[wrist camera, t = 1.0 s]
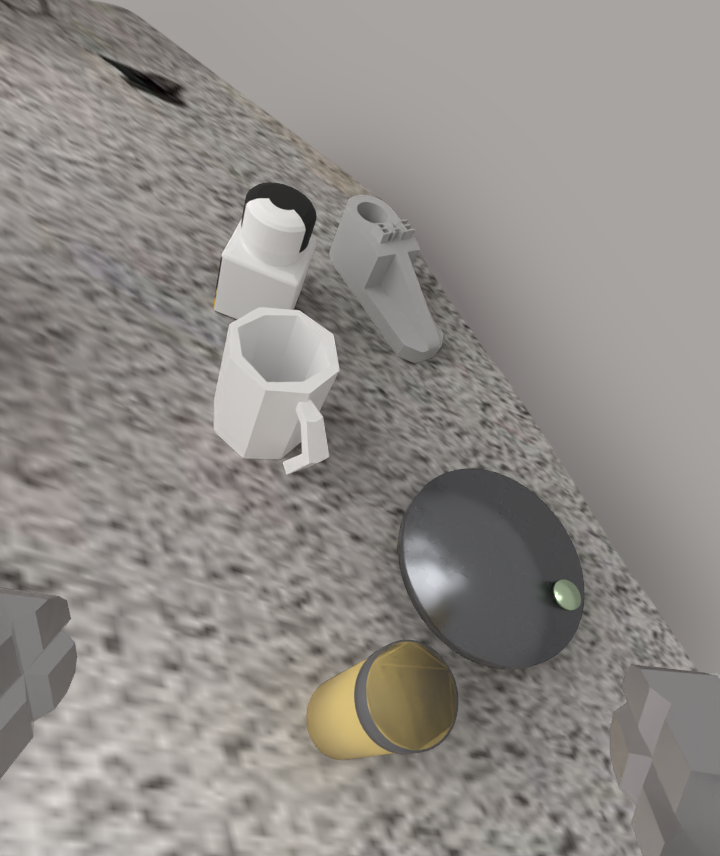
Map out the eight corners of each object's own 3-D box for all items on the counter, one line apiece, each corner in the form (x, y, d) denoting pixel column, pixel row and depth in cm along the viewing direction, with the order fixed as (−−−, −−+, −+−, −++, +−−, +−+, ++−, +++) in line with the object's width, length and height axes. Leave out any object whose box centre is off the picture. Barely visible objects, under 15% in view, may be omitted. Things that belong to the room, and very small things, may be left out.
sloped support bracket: (403, 368, 57) (437, 315, 51) (319, 247, 63) (340, 187, 57) (442, 355, 60) (478, 304, 54) (359, 241, 66) (383, 183, 60)
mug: (195, 394, 47) (207, 316, 39) (283, 371, 51) (310, 297, 44) (254, 514, 43) (281, 454, 35) (345, 478, 48) (386, 418, 40)
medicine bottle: (235, 265, 57) (255, 160, 47) (300, 292, 58) (333, 194, 48) (211, 311, 52) (228, 206, 43) (282, 338, 54) (313, 241, 44)
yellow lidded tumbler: (289, 714, 36) (343, 689, 27) (343, 659, 39) (409, 619, 30) (340, 781, 35) (415, 778, 26) (392, 719, 38) (476, 697, 29)
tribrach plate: (346, 557, 44) (363, 537, 40) (460, 458, 53) (482, 436, 49) (488, 724, 40) (520, 718, 37) (584, 588, 50) (616, 573, 46)
